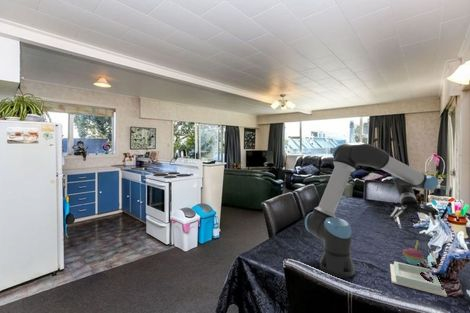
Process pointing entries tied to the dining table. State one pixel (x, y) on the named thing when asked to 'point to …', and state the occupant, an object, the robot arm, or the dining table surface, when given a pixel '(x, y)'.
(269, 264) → the dining table surface
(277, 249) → the dining table surface
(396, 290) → the dining table surface
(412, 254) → the cupcake
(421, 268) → the pastry tray
